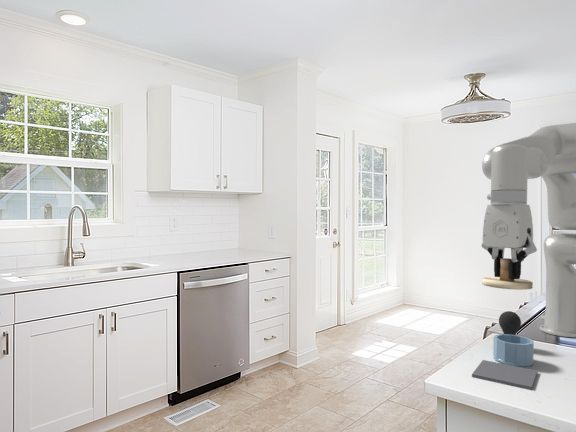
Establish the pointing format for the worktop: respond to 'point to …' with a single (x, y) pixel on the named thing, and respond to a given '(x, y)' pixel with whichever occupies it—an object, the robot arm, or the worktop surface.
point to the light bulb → (509, 322)
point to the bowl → (513, 350)
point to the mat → (506, 374)
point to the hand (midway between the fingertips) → (507, 277)
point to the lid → (506, 279)
